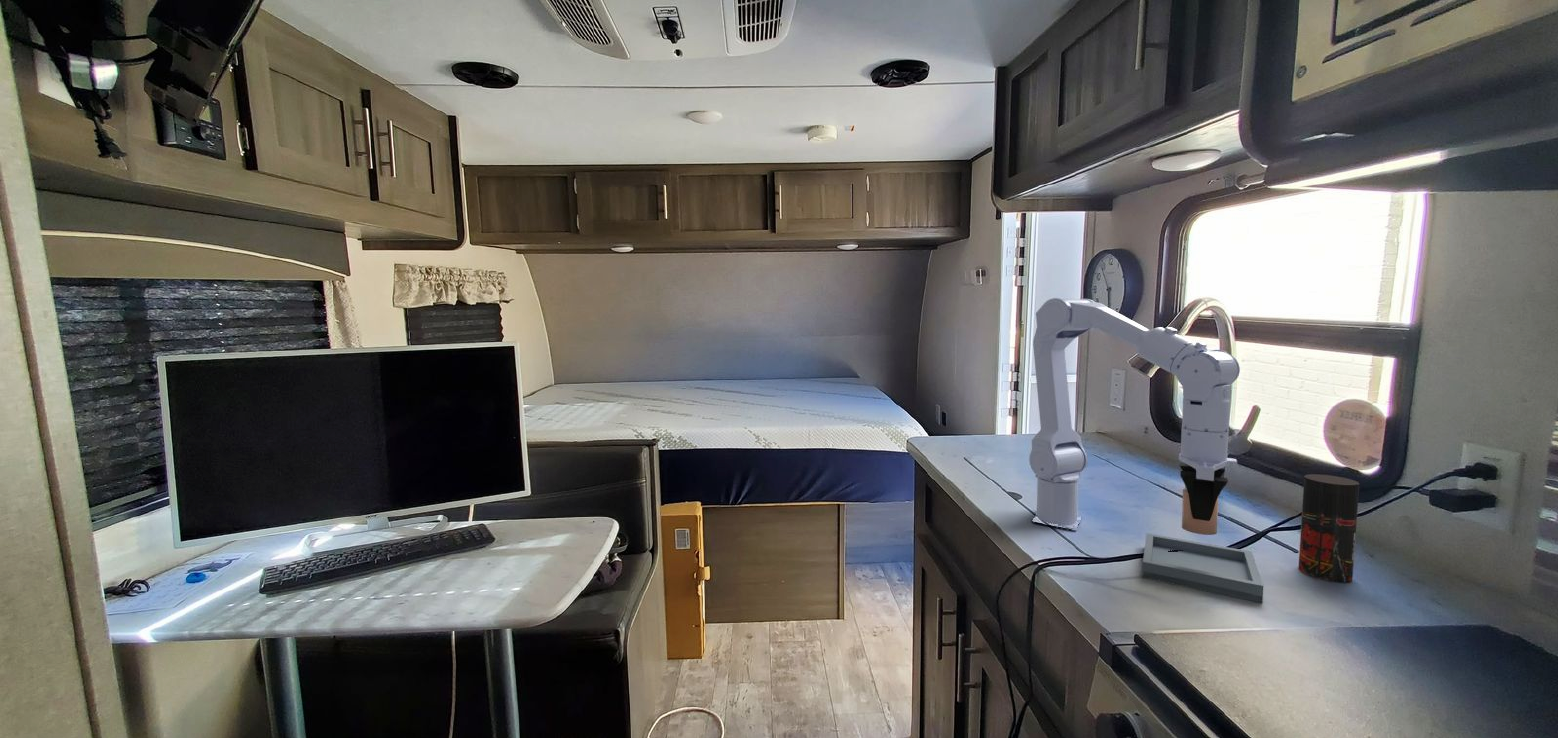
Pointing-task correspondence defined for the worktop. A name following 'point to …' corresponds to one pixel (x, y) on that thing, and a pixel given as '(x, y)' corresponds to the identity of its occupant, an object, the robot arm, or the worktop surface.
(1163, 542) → the tray
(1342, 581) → the deodorant
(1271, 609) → the worktop surface
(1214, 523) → the shaker
